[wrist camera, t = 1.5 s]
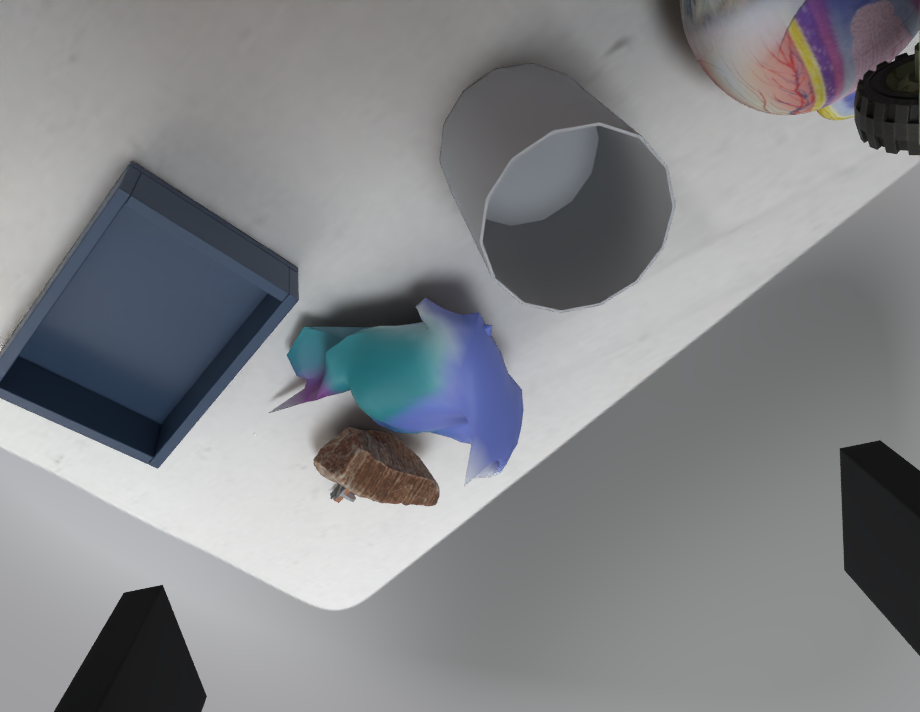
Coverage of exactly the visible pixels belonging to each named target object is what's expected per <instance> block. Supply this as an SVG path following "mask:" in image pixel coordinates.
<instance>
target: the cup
mask: <svg viewBox="0 0 920 712" xmlns="http://www.w3.org/2000/svg"><path fill="white" fill-rule="evenodd" d="M440 163H441V166H442V168H443V171H444V174H445V176H446V179H447V182H448V184H449V187H450V190H451V192H452V195H453V197H454V199H455V201H456V203H457V205H458V207H459V209H460V211H461V214H462V216H463V218H464V220H465V222H466V224H467V226H468V228H469V230H470V232H471V234H472V237H473V239H474V241H475V243H476V245H477V247H478V249H479V251H480V253H481V255H482V258H483V260H484V262H485V264H486V266H487V268H488V270H489V272H490V274H491V276H492V279H493V280H494V281H495V282H496V283H498V284H499V285H500V286H501V287H502V288H503V289H505V290H506V291H507V292H508V293H509V294H510V295H512V296H513V297H514V298H515V299H516V300H518V301H519V302H520V303H521V304H523V305H527V306H531V307H536V308H540V309H545V310H549V311H553V312H558V313H563V312H568V311H573V310H578V309H584V308H589V307H594V306H599V305H602V304H604V303H605V302H607V301H608V300H610V299H612V298H613V297H615V296H616V295H618V294H620V293H621V292H623V291H624V290H626V289H628V288H629V287H631V286H632V285H634V284H636V283H637V282H638V281H639V280H640V278H641V277H642V276H643V275H644V273H645V272H646V271H647V269H648V268H649V267H650V265H651V264H652V263H653V262H654V260H655V259H656V258H657V256H658V255H659V254H660V253H661V251H662V250H663V249H664V247H665V243H666V239H667V236H668V232H669V229H670V225H671V221H672V218H673V214H674V211H675V207H676V206H675V201H674V196H673V190H672V185H671V180H670V174H669V169H668V166H667V165H666V164H665V162H664V161H663V160H662V159H661V158H660V157H659V156H658V154H657V153H656V152H655V151H654V150H653V149H652V147H651V146H650V145H649V144H648V143H647V142H646V141H645V139H644V138H643V137H642V136H641V135H640V134H639V133H637V132H636V131H635V130H634V129H632V128H631V127H630V126H629V125H627V124H626V123H625V122H624V121H623V120H621V119H620V118H619V117H618V116H616V115H615V114H614V113H613V112H611V111H610V110H609V109H608V108H606V107H605V106H604V105H603V104H602V103H600V102H599V101H598V100H597V99H595V98H594V97H593V96H592V95H590V94H589V93H588V92H587V91H585V90H584V89H583V88H582V87H581V86H579V85H578V84H577V83H576V82H574V81H573V80H572V79H571V78H569V77H568V76H567V75H565V74H562V73H560V72H557V71H554V70H551V69H548V68H545V67H542V66H539V65H536V64H533V63H530V64H524V65H518V66H512V67H505V68H499V69H495V70H493V71H492V72H490V73H489V74H488V75H486V76H485V77H483V78H482V79H480V80H479V81H478V82H476V83H475V84H473V85H472V86H470V87H469V88H468V89H466V90H465V91H463V93H462V94H461V96H460V98H459V99H458V101H457V103H456V105H455V106H454V108H453V110H452V111H451V113H450V115H449V116H448V118H447V120H446V121H445V123H444V125H443V135H442V145H441V155H440Z"/></svg>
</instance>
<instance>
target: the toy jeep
mask: <svg viewBox="0 0 920 712" xmlns="http://www.w3.org/2000/svg"><path fill="white" fill-rule="evenodd" d="M854 115H855V123H856V126H857V129H858V132H859V135H860V138H861V140H862V141H863V142H864V143H865V142H867V141H868V142H869V145H870V147H872V148H874V149H877V150H878V149H879V148H880V147H881V146H883V147H885V149H886V152H887V153H893V154H897V153H898V152H899V151H900V150H907V151H909V155H920V42H919V43H918V44H917V45H916V46H915V54H913V55H909V56H908V54H907V53H904V54H901V55H898V56H895V61H893V62H890V63H888V62H887V61H884V62H882V63H880V64H878V65H877V66H876V71H872V70H868V71H867V72H866V73H865V74H864V75H863V80H862V79H859V82H858V84H857V89H856V94H855V99H854Z"/></svg>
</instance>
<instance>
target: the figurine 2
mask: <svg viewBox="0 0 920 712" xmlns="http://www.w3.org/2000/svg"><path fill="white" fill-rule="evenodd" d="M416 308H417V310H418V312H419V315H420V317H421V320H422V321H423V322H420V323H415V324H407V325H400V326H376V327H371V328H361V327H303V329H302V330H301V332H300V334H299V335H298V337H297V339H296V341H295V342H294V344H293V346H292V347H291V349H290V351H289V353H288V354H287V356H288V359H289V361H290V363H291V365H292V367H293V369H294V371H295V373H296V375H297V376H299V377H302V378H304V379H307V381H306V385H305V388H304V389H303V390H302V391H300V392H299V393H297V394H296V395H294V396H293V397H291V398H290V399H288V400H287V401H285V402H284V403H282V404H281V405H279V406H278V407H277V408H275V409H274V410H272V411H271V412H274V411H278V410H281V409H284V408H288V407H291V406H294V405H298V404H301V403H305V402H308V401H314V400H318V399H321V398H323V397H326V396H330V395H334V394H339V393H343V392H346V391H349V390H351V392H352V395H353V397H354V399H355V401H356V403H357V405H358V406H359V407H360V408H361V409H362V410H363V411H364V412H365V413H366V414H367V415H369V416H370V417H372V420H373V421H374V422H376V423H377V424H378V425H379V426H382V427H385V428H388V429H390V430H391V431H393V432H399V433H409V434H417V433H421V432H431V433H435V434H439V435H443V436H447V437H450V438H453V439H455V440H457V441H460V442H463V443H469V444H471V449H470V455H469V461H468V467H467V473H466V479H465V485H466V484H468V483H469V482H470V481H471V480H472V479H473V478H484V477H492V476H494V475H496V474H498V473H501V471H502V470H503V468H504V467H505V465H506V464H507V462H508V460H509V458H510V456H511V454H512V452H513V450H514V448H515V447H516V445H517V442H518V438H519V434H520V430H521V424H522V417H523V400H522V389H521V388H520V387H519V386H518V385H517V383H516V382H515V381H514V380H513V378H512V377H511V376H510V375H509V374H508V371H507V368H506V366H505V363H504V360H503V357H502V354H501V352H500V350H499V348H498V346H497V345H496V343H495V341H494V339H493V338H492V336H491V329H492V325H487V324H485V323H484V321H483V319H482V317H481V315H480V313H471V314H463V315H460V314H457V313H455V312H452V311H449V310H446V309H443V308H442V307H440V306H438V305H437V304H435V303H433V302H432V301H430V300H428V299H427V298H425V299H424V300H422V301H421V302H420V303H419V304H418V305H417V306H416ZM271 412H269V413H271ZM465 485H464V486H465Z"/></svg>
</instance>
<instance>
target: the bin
mask: <svg viewBox="0 0 920 712" xmlns="http://www.w3.org/2000/svg"><path fill="white" fill-rule="evenodd" d="M298 300H299V294H298V268H297V267H295V266H294V265H292V264H291V263H289V262H288V261H286V260H284V259H283V258H281V257H280V256H278V255H277V254H275V253H274V252H272V251H271V250H269V249H267V248H266V247H264V246H263V245H261V244H260V243H258V242H257V241H255V240H254V239H252V238H250V237H249V236H247V235H246V234H244V233H243V232H241V231H240V230H238V229H236V228H235V227H233V226H232V225H230V224H229V223H227V222H226V221H224V220H223V219H221V218H219V217H218V216H216V215H215V214H213V213H212V212H210V211H209V210H207V209H205V208H204V207H202V206H201V205H199V204H198V203H196V202H195V201H193V200H192V199H190V198H188V197H187V196H185V195H184V194H182V193H181V192H179V191H178V190H176V189H175V188H173V187H171V186H170V185H168V184H167V183H165V182H164V181H162V180H161V179H159V178H157V177H156V176H154V175H153V174H151V173H150V172H148V171H147V170H145V169H144V168H142V167H140V166H139V165H137V164H136V163H134V162H132V161H131V162H130V164H129V165H128V167H127V168H126V170H125V171H124V172H123V174H122V175H121V177H120V178H119V180H118V181H117V183H116V184H115V186H114V187H113V188H112V190H111V191H110V193H109V194H108V196H107V197H106V199H105V200H104V202H103V203H102V205H101V206H100V207H99V209H98V210H97V212H96V213H95V215H94V216H93V218H92V219H91V221H90V222H89V223H88V225H87V226H86V228H85V229H84V231H83V232H82V234H81V235H80V237H79V238H78V239H77V241H76V242H75V244H74V245H73V247H72V248H71V250H70V251H69V253H68V254H67V256H66V257H65V258H64V260H63V261H62V263H61V264H60V266H59V267H58V269H57V270H56V272H55V273H54V274H53V276H52V277H51V279H50V280H49V282H48V283H47V285H46V286H45V288H44V289H43V291H42V292H41V293H40V295H39V296H38V298H37V299H36V301H35V302H34V304H33V305H32V307H31V308H30V309H29V311H28V312H27V314H26V315H25V317H24V318H23V320H22V321H21V323H20V324H19V325H18V327H17V328H16V330H15V331H14V333H13V334H12V336H11V337H10V339H9V340H8V342H7V343H6V344H5V346H4V347H3V349H2V350H1V352H0V398H1V399H4V400H6V401H8V402H10V403H13V404H15V405H17V406H19V407H22V408H24V409H26V410H28V411H30V412H33V413H35V414H37V415H39V416H42V417H44V418H46V419H48V420H51V421H53V422H55V423H57V424H60V425H62V426H64V427H66V428H68V429H71V430H73V431H75V432H77V433H80V434H82V435H84V436H86V437H89V438H91V439H93V440H95V441H98V442H100V443H102V444H104V445H106V446H109V447H111V448H113V449H115V450H118V451H120V452H122V453H124V454H127V455H129V456H131V457H133V458H135V459H138V460H140V461H142V462H144V463H147V464H148V463H149V465H151V466H153V467H155V468H159V467H160V466H161V464H162V463H163V462H164V461H165V460H166V458H167V457H168V456H169V455H170V454H171V452H172V451H173V450H174V449H175V448H176V446H177V445H178V444H179V443H180V442H181V440H182V439H183V438H184V437H185V436H186V434H187V433H188V432H189V431H190V430H191V428H192V427H193V426H194V425H195V424H196V422H197V421H198V420H199V419H200V418H201V417H202V415H203V414H204V413H205V412H206V411H207V409H208V408H209V407H210V406H211V405H212V403H213V402H214V401H215V400H216V399H217V397H218V396H219V395H220V394H221V393H222V391H223V390H224V389H225V388H226V387H227V385H228V384H229V383H230V382H231V381H232V379H233V378H234V377H235V376H236V375H237V373H238V372H239V371H240V370H241V369H242V367H243V366H244V365H245V364H246V363H247V361H248V360H249V359H250V358H251V357H252V355H253V354H254V353H255V352H256V351H257V349H258V348H259V347H260V346H261V345H262V343H263V342H264V341H265V340H266V339H267V337H268V336H269V335H270V334H271V333H272V331H273V330H274V329H275V328H276V327H277V325H278V324H279V323H280V322H281V321H282V319H283V318H284V317H285V316H286V315H287V313H288V312H289V311H290V310H291V309H292V307H293V306H294V305H295V304H296V303H297V301H298Z"/></svg>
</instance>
